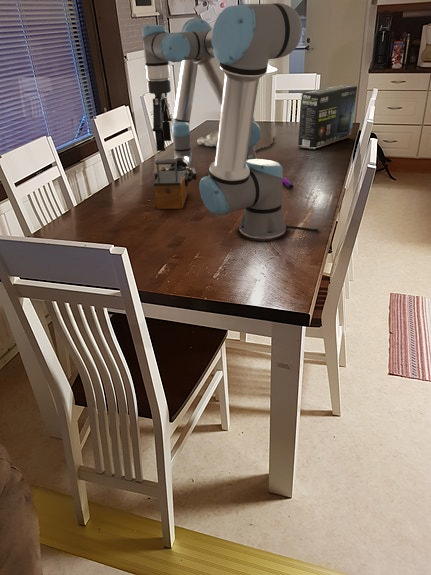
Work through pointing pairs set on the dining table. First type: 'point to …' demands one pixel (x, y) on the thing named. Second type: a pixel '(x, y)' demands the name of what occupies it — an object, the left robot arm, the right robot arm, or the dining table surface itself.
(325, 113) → the router box
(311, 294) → the dining table surface
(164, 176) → the lid
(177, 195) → the chest
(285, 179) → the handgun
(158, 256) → the dining table surface
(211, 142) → the fossil
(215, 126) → the dining table surface
